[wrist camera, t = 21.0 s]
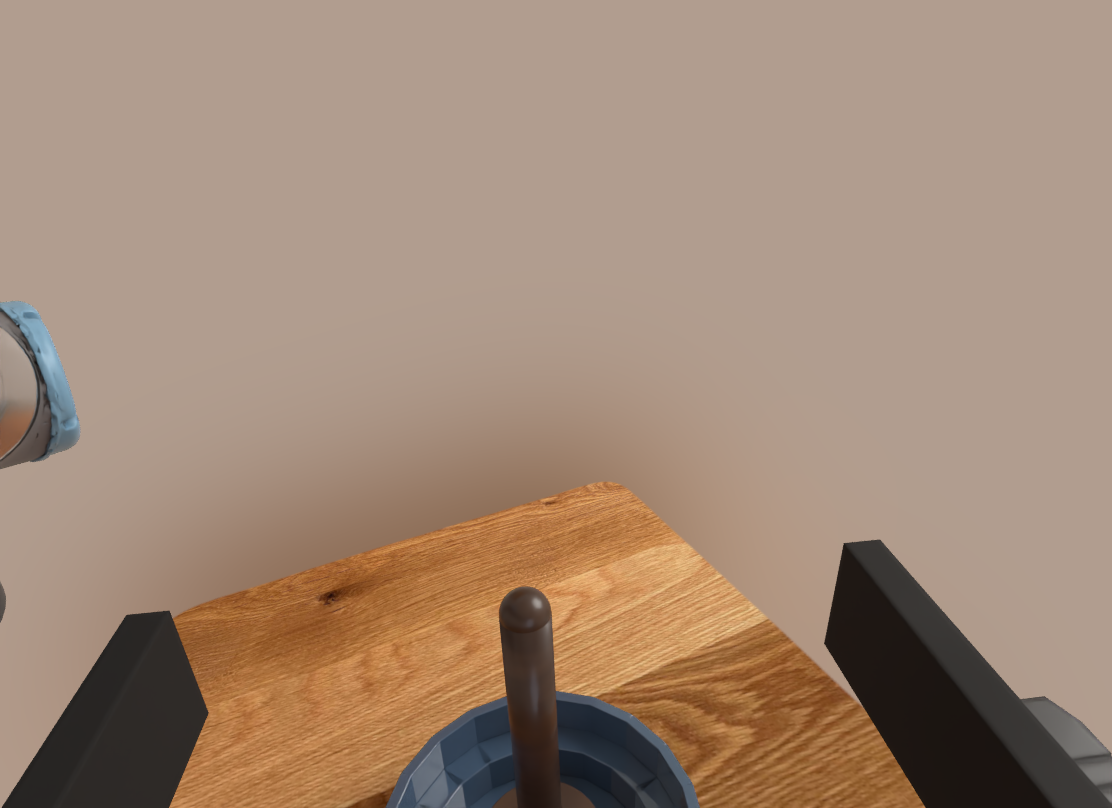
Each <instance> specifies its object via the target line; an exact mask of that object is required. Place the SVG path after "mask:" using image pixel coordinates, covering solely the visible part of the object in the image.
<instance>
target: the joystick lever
mask: <svg viewBox="0 0 1112 808" xmlns="http://www.w3.org/2000/svg"><path fill="white" fill-rule="evenodd" d="M499 623H500V633H501V643H502V653H503V663H504V674H505V684H506V694H507V704H508V714H509V724H510V735H511V745H512V755H513V765H514V775H515V786H516V787H515V788H513V789H511V790H510V791H508V792H507V793H505V794H504V795H503V796H502V797H501V798H500V799H499V800H498V801H497V802H496V803H495V804H494V806H493V807H492V808H595V806H594V805H593V804H592V802H591V801H590V800H589V799H588V798H587V797H586V796H585V795H584V794H583V793H582V792H580V791H579V790H577V789H576V788H574V787H572V786H570V785H568V784H565V783H563V782H560V765H559V746H558V727H557V708H556V689H555V670H554V651H553V632H552V613H551V606H550V604H549V601H548V599H547V598H546V596H545V595H544V594H543V593H542V592H541V591H539V590H537V589H535V588H533V587H518V588H516V589H514V590H512V591H511V592H509V593H508V594H507V595H506V596H505V597H504V599H503V601H502V602H501V605H500V609H499Z"/></svg>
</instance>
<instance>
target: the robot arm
mask: <svg viewBox="0 0 1112 808" xmlns="http://www.w3.org/2000/svg"><path fill="white" fill-rule="evenodd" d="M79 437H80V425H79V421H78V418H77V415H76V410H75V404H74V400H73V397H72V394H71V390H70V387H69V384H68V381H67V379H66V376H65V373H64V370H63V367H62V364H61V362H60V359H59V356H58V354H57V351H56V349H55V346H54V344H53V341H52V339H51V337H50V335H49V332H48V330H47V328H46V327H45V325H44V324H43V322H42V321H41V317H40V315H39V313H38V312H37V311H36V309H35V308H34V307H32V306H31V305H29V304H27V303H24V302H21V301H11V302H3V303H0V469H2V468H6V467H9V466H13V465H17V464H21V463H24V462H28V461H30V462H36V461H42V460H45V459H46V458H48V457H49V456H50V455H52V454H55V453H58V452H62V451H65V450H67V449H69V448H71V447H72V446H74V445H75V444H76V443H77V441H78V440H79ZM824 644H825V645H826V647H827V649H828V650H829V652H830V653H831V655H832V656H833V658H834V660H835V662H836V663H837V665H838V667H839V668H840V670H841V671H842V673H843V674H844V676H845V678H846V679H847V681H848V682H849V684H850V686H851V688H852V689H853V691H854V692H855V694H856V696H857V697H858V699H859V700H860V702H861V704H862V705H863V707H864V709H865V710H866V712H867V713H868V715H869V717H870V718H871V720H872V722H873V723H874V725H875V726H876V728H877V730H878V731H879V733H880V734H881V736H882V738H883V739H884V741H885V743H886V744H887V746H888V747H889V749H890V751H891V752H892V754H893V755H894V757H895V759H896V760H897V762H898V764H899V765H900V767H901V768H902V770H903V772H904V773H905V775H906V777H907V778H908V780H909V781H910V783H911V785H912V786H913V788H914V789H915V791H916V793H917V794H918V796H919V798H920V799H921V801H922V802H923V804H924V806H925V807H926V808H1112V756H1111V753H1110V752H1109V751H1108V749H1107V748H1106V747H1105V746H1104V745H1103V744H1102V743H1101V742H1100V741H1099V740H1098V739H1097V738H1096V737H1095V736H1094V735H1093V734H1092V732H1090V730H1089V729H1088V728H1087V727H1086V726H1085V725H1084V724H1083V723H1082V722H1081V721H1080V720H1078V719H1077V718H1075V717H1074V716H1072V715H1071V714H1069V713H1068V712H1067V711H1065V710H1064V709H1062V708H1061V707H1059V706H1058V705H1056V704H1055V703H1053V702H1052V701H1050V700H1049V699H1048V698H1046V697H1035V698H1028V699H1019V698H1018V696H1017V695H1016V694H1015V693H1014V692H1013V691H1012V690H1011V688H1010V687H1009V686H1008V685H1007V684H1006V683H1005V682H1004V680H1002V678H1001V677H1000V676H999V675H998V674H997V673H996V671H995V670H994V669H993V668H992V667H991V666H990V665H989V663H988V662H987V661H986V660H985V659H984V658H983V657H982V655H981V654H980V653H979V652H978V651H977V650H976V649H975V647H974V646H973V645H972V644H971V643H970V642H969V641H968V640H967V638H966V637H965V636H964V635H963V634H962V633H961V632H960V630H959V629H958V628H957V627H956V626H955V625H954V624H953V622H952V621H951V620H950V619H949V618H948V617H947V616H946V614H945V613H944V612H943V611H942V610H941V609H940V608H939V606H938V605H937V604H936V603H935V602H934V601H933V600H932V599H931V598H930V596H929V595H928V594H927V593H926V592H925V590H924V589H923V588H922V587H921V586H920V585H919V584H918V583H917V581H916V580H915V579H914V578H913V577H912V576H911V575H910V573H909V572H908V571H907V570H906V569H905V568H904V567H903V565H902V564H901V563H900V562H899V561H898V560H897V559H896V557H895V556H894V555H893V554H892V553H891V552H890V551H889V549H888V548H887V547H886V546H885V545H884V544H883V543H882V541H881V540H871V541H862V542H852V543H844V545H843V550H842V556H841V560H840V566H839V571H838V576H837V581H836V586H835V591H834V597H833V602H832V607H831V612H830V617H829V622H828V627H827V632H826V638H825V642H824ZM207 716H208V710H207V708H206V705H205V702H204V700H203V697H202V694H201V692H200V689H199V687H198V684H197V681H196V679H195V676H194V674H193V671H192V668H191V666H190V663H189V660H188V658H187V655H186V653H185V650H184V647H183V645H182V642H181V640H180V637H179V634H178V632H177V629H176V626H175V624H174V621H173V619H172V616H171V613H170V611H163V612H152V613H141V614H132V615H126V617H125V618H124V620H123V621H122V623H121V624H120V626H119V627H118V629H117V631H116V632H115V634H114V635H113V637H112V638H111V640H110V641H109V643H108V644H107V646H106V647H105V649H104V650H103V652H102V654H101V655H100V657H99V658H98V660H97V661H96V663H95V664H94V666H93V667H92V669H91V671H90V672H89V674H88V675H87V677H86V678H85V680H84V681H83V683H82V684H81V686H80V688H79V689H78V691H77V692H76V694H75V695H74V697H73V698H72V700H71V701H70V703H69V705H68V706H67V708H66V709H65V711H64V712H63V714H62V715H61V717H60V719H59V720H58V722H57V723H56V725H55V726H54V728H53V729H52V731H51V732H50V734H49V736H48V737H47V738H46V740H45V742H44V743H43V745H42V746H41V748H40V749H39V751H38V753H37V754H36V756H35V757H34V758H33V760H32V762H31V763H30V765H29V766H28V768H27V769H26V771H25V772H24V774H23V776H22V777H21V779H20V780H19V782H18V783H17V785H16V786H15V788H14V789H13V791H12V792H11V794H10V796H9V797H8V799H7V800H6V802H5V803H4V805H3V806H2V808H169V806H170V804H171V801H172V799H173V797H174V794H175V792H176V790H177V787H178V785H179V782H180V780H181V778H182V775H183V773H184V770H185V768H186V766H187V763H188V761H189V758H190V756H191V754H192V751H193V749H194V747H195V744H196V742H197V739H198V737H199V735H200V732H201V730H202V727H203V725H204V723H205V720H206V718H207Z"/></svg>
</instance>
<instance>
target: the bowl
mask: <svg viewBox="0 0 1112 808" xmlns="http://www.w3.org/2000/svg"><path fill="white" fill-rule="evenodd" d="M556 708H557V727H558V746H559V765H560V782H563V783H565V784H568V785H570V786H572V787H574V788H576V789H577V790H579V791H580V792H582V793H583V794H584V795H585V796H586V797H587V798H588V799H589V800H590V801H591V802H592V804H593V805H594V806H595V808H700V806H699V803H698V800H697V796H696V793H695V789H694V786H693V784H692V782H691V780H690V779H689V777H688V776H687V774H686V773H685V771H684V770H683V768H682V767H681V765H680V764H679V762H678V760H677V759H676V757H675V756H674V754H673V753H672V751H671V750H670V748H669V747H668V745H666V743H665V742H664V741H663V740H661V739H660V738H659V737H658V736H657V735H656V734H654V733H653V732H652V731H651V730H650V729H649V728H647V727H646V726H645V725H644V724H643V723H642V722H640V721H639V720H638V719H637V718H636V717H634V716H632V714H630V713H628V712H625V711H623V710H621V709H619V708H617V707H614V706H612V705H610V704H608V703H606V702H603V701H601V700H599V699H597V698H595V697H590V696H584V695H578V694H572V693H565V692H559V691H556ZM515 787H516V786H515V775H514V765H513V755H512V745H511V735H510V724H509V714H508V704H507V696H506V697H503V698H500V699H498V700H495V701H492V702H490V703H487V704H484V705H482V706H479V707H476V708H474V709H471V710H470V711H467V712H466V713H465V714H463V715H462V716H460V717H459V718H457V719H456V720H455V721H453V722H452V723H450V724H449V725H447V726H446V727H445V728H443V729H442V730H440V731H439V732H437V733H436V734H435V735H433V737H431V738H430V739H429V741H428V742H427V743H426V744H425V745H424V747H423V748H422V749H421V750H420V751H419V752H418V754H417V755H416V756H415V757H414V758H413V760H412V761H411V762H410V763H409V764H408V766H407V767H406V768H405V769H404V770H403V771H402V773H401V775H400V777H399V779H398V781H397V784H396V786H395V788H394V790H393V792H392V794H391V797H390V799H389V801H388V803H387V805H386V807H385V808H492V807H493V806H494V804H495V803H496V802H497V801H498V800H499V799H500V798H501V797H502V796H503V795H504V794H505V793H507V792H508V791H510V790H511V789H513V788H515Z"/></svg>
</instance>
